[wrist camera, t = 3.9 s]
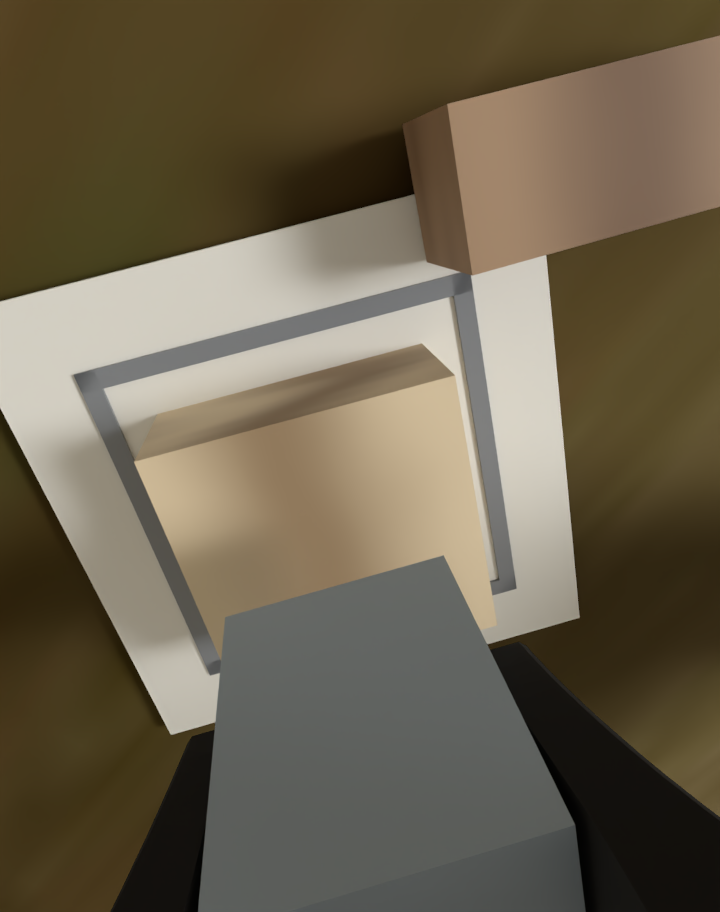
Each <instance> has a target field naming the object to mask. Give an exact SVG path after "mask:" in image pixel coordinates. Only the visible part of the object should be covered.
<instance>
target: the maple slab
mask: <svg viewBox="0 0 720 912" xmlns="http://www.w3.org/2000/svg"><path fill="white" fill-rule="evenodd" d="M134 463H135V466H136V468H137V470H138V472H139V475H140V477H141V479H142V482H143V484H144V486H145V488H146V491H147V493H148V495H149V498H150V500H151V502H152V504H153V507H154V509H155V511H156V514H157V516H158V518H159V520H160V523H161V525H162V527H163V529H164V532H165V534H166V536H167V539H168V541H169V543H170V545H171V548H172V550H173V552H174V555H175V557H176V559H177V561H178V564H179V566H180V568H181V571H182V573H183V575H184V577H185V580H186V582H187V584H188V587H189V589H190V591H191V593H192V596H193V598H194V600H195V603H196V605H197V607H198V609H199V612H200V614H201V616H202V619H203V621H204V623H205V625H206V628H207V630H208V632H209V635H210V637H211V639H212V641H213V644H214V646H215V648H216V651H217V653H218V655H219V657H220V660H221V657H222V646H223V635H224V624H225V617H227V616H231V615H234V614H238V613H242V612H245V611H249V610H252V609H256V608H259V607H263V606H266V605H270V604H273V603H277V602H280V601H284V600H287V599H291V598H294V597H298V596H302V595H305V594H309V593H312V592H316V591H319V590H323V589H326V588H330V587H333V586H337V585H340V584H344V583H347V582H351V581H355V580H358V579H362V578H365V577H369V576H372V575H376V574H379V573H383V572H386V571H390V570H393V569H397V568H400V567H404V566H407V565H411V564H415V563H418V562H422V561H425V560H429V559H432V558H436V557H439V556H443V555H444V557H445V559H446V561H447V563H448V565H449V567H450V569H451V571H452V573H453V576H454V578H455V580H456V582H457V584H458V586H459V588H460V590H461V592H462V594H463V596H464V598H465V600H466V602H467V604H468V606H469V608H470V610H471V612H472V614H473V617H474V619H475V621H476V623H477V625H478V627H479V629H480V630H483V629H486V628H490V627H493V626H497V620H496V614H495V608H494V603H493V597H492V591H491V585H490V579H489V573H488V567H487V561H486V555H485V549H484V543H483V538H482V532H481V526H480V520H479V514H478V508H477V502H476V496H475V490H474V484H473V478H472V472H471V467H470V461H469V455H468V449H467V443H466V437H465V431H464V425H463V419H462V413H461V407H460V402H459V396H458V390H457V384H456V378H455V375H454V374H453V373H452V372H451V371H450V370H449V369H448V368H447V367H446V366H445V365H444V364H443V363H442V362H441V361H440V360H439V359H438V358H437V357H436V356H435V355H433V354H432V353H431V352H430V351H429V350H428V349H427V348H426V347H425V346H424V345H423V344H418V345H414V346H410V347H407V348H403V349H399V350H395V351H392V352H388V353H384V354H380V355H377V356H373V357H369V358H365V359H362V360H358V361H354V362H350V363H347V364H343V365H339V366H336V367H332V368H328V369H324V370H321V371H317V372H313V373H309V374H306V375H302V376H298V377H294V378H291V379H287V380H283V381H279V382H276V383H272V384H268V385H264V386H261V387H257V388H253V389H249V390H246V391H242V392H238V393H234V394H231V395H227V396H223V397H219V398H216V399H212V400H208V401H205V402H201V403H197V404H193V405H190V406H186V407H182V408H178V409H175V410H171V411H167V412H163V413H160V414H157V416H156V418H155V420H154V422H153V424H152V426H151V428H150V430H149V432H148V434H147V436H146V438H145V441H144V443H143V445H142V447H141V449H140V451H139V453H138V455H137V457H136V459H135V461H134Z"/></svg>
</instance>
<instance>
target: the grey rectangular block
mask: <svg viewBox="0 0 720 912" xmlns="http://www.w3.org/2000/svg"><path fill="white" fill-rule="evenodd" d="M198 912H586V911H585V903H584V895H583V886H582V878H581V869H580V861H579V853H578V844H577V836H576V828H575V824H574V822H573V819H572V817H571V815H570V813H569V811H568V809H567V807H566V805H565V803H564V801H563V799H562V797H561V795H560V793H559V791H558V789H557V787H556V785H555V783H554V781H553V778H552V776H551V774H550V772H549V770H548V768H547V766H546V764H545V762H544V760H543V758H542V756H541V754H540V752H539V750H538V748H537V746H536V744H535V742H534V740H533V737H532V735H531V733H530V731H529V729H528V727H527V725H526V723H525V721H524V719H523V717H522V715H521V713H520V711H519V709H518V707H517V705H516V703H515V701H514V699H513V696H512V694H511V692H510V690H509V688H508V686H507V684H506V682H505V680H504V678H503V676H502V674H501V672H500V670H499V668H498V666H497V664H496V662H495V660H494V658H493V655H492V653H491V651H490V649H489V647H488V645H487V643H486V641H485V639H484V637H483V635H482V633H481V631H480V629H479V627H478V625H477V623H476V621H475V619H474V617H473V614H472V612H471V610H470V608H469V606H468V604H467V602H466V600H465V598H464V596H463V594H462V592H461V590H460V588H459V586H458V584H457V582H456V580H455V578H454V576H453V573H452V571H451V569H450V567H449V565H448V563H447V561H446V559H445V557H444V555H443V556H439V557H436V558H432V559H429V560H425V561H422V562H418V563H415V564H411V565H407V566H404V567H400V568H397V569H393V570H390V571H386V572H383V573H379V574H376V575H372V576H369V577H365V578H362V579H358V580H355V581H351V582H347V583H344V584H340V585H337V586H333V587H330V588H326V589H323V590H319V591H316V592H312V593H309V594H305V595H302V596H298V597H294V598H291V599H287V600H284V601H280V602H277V603H273V604H270V605H266V606H263V607H259V608H256V609H252V610H249V611H245V612H242V613H238V614H234V615H231V616H227V617H225V624H224V635H223V646H222V657H221V668H220V678H219V689H218V700H217V711H216V722H215V732H214V743H213V754H212V765H211V776H210V786H209V797H208V808H207V819H206V830H205V840H204V851H203V862H202V873H201V884H200V894H199V905H198Z"/></svg>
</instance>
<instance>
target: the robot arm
mask: <svg viewBox="0 0 720 912" xmlns="http://www.w3.org/2000/svg"><path fill="white" fill-rule="evenodd" d="M490 651H491V653H492V655H493V658H494V660H495V662H496V664H497V666H498V668H499V670H500V672H501V674H502V676H503V678H504V680H505V682H506V684H507V686H508V688H509V690H510V692H511V694H512V696H513V699H514V701H515V703H516V705H517V707H518V709H519V711H520V713H521V715H522V717H523V719H524V721H525V723H526V725H527V727H528V729H529V731H530V733H531V735H532V737H533V740H534V742H535V744H536V746H537V748H538V750H539V752H540V754H541V756H542V758H543V760H544V762H545V764H546V766H547V768H548V770H549V772H550V774H551V776H552V778H553V781H554V783H555V785H556V787H557V789H558V791H559V793H560V795H561V797H562V799H563V801H564V803H565V805H566V807H567V809H568V811H569V813H570V815H571V817H572V819H573V822H574V824H575V828H576V836H577V844H578V853H579V861H580V869H581V878H582V886H583V895H584V903H585V911H586V912H720V817H719V816H718V815H716V814H715V813H714V812H712V811H711V810H710V809H708V808H707V807H706V806H704V805H703V804H702V803H700V802H699V801H698V800H697V799H695V798H694V797H693V796H692V795H690V794H689V793H688V792H686V791H685V790H684V789H683V788H681V787H680V786H679V785H678V784H676V783H675V782H674V781H673V780H671V779H670V778H669V777H668V776H666V775H665V774H664V773H662V772H661V771H660V770H659V769H658V768H656V767H655V766H654V765H653V764H652V763H650V762H649V761H648V760H647V759H646V758H644V757H643V756H642V755H641V754H640V753H638V752H637V751H636V750H635V749H634V748H633V747H632V746H630V745H629V744H628V743H627V742H626V741H625V740H623V739H622V738H621V737H620V736H619V735H618V734H617V733H615V732H614V731H613V730H612V729H611V728H610V727H609V726H607V725H606V724H605V723H604V722H603V721H602V720H601V719H599V718H598V717H597V716H596V715H595V714H594V713H593V712H592V711H591V710H590V709H589V708H587V707H586V706H585V705H584V704H583V703H582V702H581V701H580V700H579V699H578V698H577V697H576V696H575V695H574V694H573V693H572V692H571V691H570V690H568V689H567V688H566V687H565V686H564V685H563V684H562V683H561V682H560V681H559V680H558V679H557V678H556V677H555V676H554V675H553V674H552V673H551V672H550V671H549V670H548V669H547V668H546V667H545V666H544V665H543V663H542V662H541V661H540V660H539V659H538V658H537V657H536V656H535V655H534V654H533V653H532V652H531V651H530V649H529V648H528V647H527V646H526V645H524V644H522V643H520V642H517V643H513V644H510V645H506V646H503V647H499V648H496V649H492V650H490ZM214 732H215V730H213V731H209V732H206V733H202V734H199V735H195V736H192V738H191V739H190V741H189V742H188V744H187V746H186V749H185V751H184V753H183V755H182V758H181V760H180V762H179V765H178V767H177V769H176V772H175V774H174V776H173V779H172V781H171V783H170V786H169V788H168V790H167V792H166V795H165V797H164V799H163V801H162V804H161V806H160V808H159V810H158V813H157V815H156V817H155V819H154V821H153V824H152V826H151V828H150V830H149V833H148V835H147V837H146V839H145V841H144V843H143V845H142V847H141V850H140V852H139V854H138V856H137V858H136V860H135V862H134V864H133V866H132V868H131V870H130V873H129V875H128V877H127V879H126V881H125V883H124V885H123V887H122V889H121V891H120V894H119V896H118V898H117V900H116V902H115V904H114V906H113V908H112V910H111V912H198V905H199V894H200V884H201V873H202V862H203V851H204V840H205V830H206V819H207V808H208V797H209V786H210V776H211V765H212V754H213V743H214Z"/></svg>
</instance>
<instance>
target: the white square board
mask: <svg viewBox="0 0 720 912" xmlns="http://www.w3.org/2000/svg"><path fill="white" fill-rule="evenodd" d="M418 344H423V345H424V346H425V347H426V348H427V349H428V350H429V351H430V352H431V353H432V354H433V355H435V356H436V357H437V358H438V359H439V360H440V361H441V362H442V363H443V364H444V365H445V366H446V367H447V368H448V369H449V370H450V371H451V372H452V373H453V374H454V375H455V378H456V384H457V390H458V396H459V402H460V407H461V413H462V419H463V425H464V431H465V437H466V443H467V449H468V455H469V461H470V467H471V472H472V478H473V484H474V490H475V496H476V502H477V508H478V514H479V520H480V526H481V532H482V538H483V543H484V549H485V555H486V561H487V567H488V573H489V579H490V585H491V591H492V597H493V603H494V608H495V614H496V620H497V626H493V627H490V628H486V629H483V630H480V631H481V633H482V635H483V637H484V639H485V641H486V643H487V644H490V643H493V642H497V641H500V640H504V639H507V638H511V637H514V636H518V635H521V634H525V633H528V632H532V631H535V630H539V629H542V628H546V627H549V626H553V625H556V624H560V623H563V622H567V621H570V620H574V619H577V618H580V616H579V605H578V594H577V583H576V572H575V562H574V551H573V540H572V529H571V519H570V508H569V497H568V486H567V475H566V465H565V454H564V443H563V432H562V421H561V411H560V400H559V389H558V378H557V368H556V357H555V346H554V335H553V324H552V314H551V303H550V292H549V281H548V270H547V260H546V255H544V256H541V257H537V258H534V259H530V260H526V261H523V262H519V263H516V264H512V265H508V266H505V267H501V268H498V269H494V270H491V271H487V272H483V273H480V274H476V275H473V276H472V275H469V274H465V273H462V272H459V271H455V270H452V269H448V268H445V267H441V266H438V265H435V264H431V263H428V262H427V261H426V255H425V250H424V244H423V239H422V233H421V227H420V222H419V216H418V210H417V205H416V199H415V194H413V195H409V196H406V197H402V198H398V199H394V200H390V201H386V202H382V203H378V204H375V205H371V206H367V207H363V208H359V209H355V210H351V211H347V212H344V213H340V214H336V215H332V216H328V217H324V218H320V219H316V220H313V221H309V222H305V223H301V224H297V225H293V226H289V227H285V228H282V229H278V230H274V231H270V232H266V233H262V234H258V235H254V236H251V237H247V238H243V239H239V240H235V241H231V242H227V243H223V244H220V245H216V246H212V247H208V248H204V249H200V250H196V251H192V252H189V253H185V254H181V255H177V256H173V257H169V258H165V259H161V260H157V261H154V262H150V263H146V264H142V265H138V266H134V267H130V268H126V269H123V270H119V271H115V272H111V273H107V274H103V275H99V276H95V277H92V278H88V279H84V280H80V281H76V282H72V283H68V284H64V285H61V286H57V287H53V288H49V289H45V290H41V291H37V292H33V293H30V294H26V295H22V296H18V297H14V298H10V299H6V300H2V301H0V409H1V411H2V412H3V414H4V416H5V418H6V420H7V422H8V424H9V426H10V428H11V430H12V432H13V434H14V435H15V437H16V439H17V441H18V443H19V445H20V447H21V449H22V451H23V453H24V455H25V456H26V458H27V460H28V462H29V464H30V466H31V468H32V470H33V472H34V474H35V476H36V478H37V479H38V481H39V483H40V485H41V487H42V489H43V491H44V493H45V495H46V497H47V499H48V501H49V502H50V504H51V506H52V508H53V510H54V512H55V514H56V516H57V518H58V520H59V522H60V524H61V525H62V527H63V529H64V531H65V533H66V535H67V537H68V539H69V541H70V543H71V545H72V546H73V548H74V550H75V552H76V554H77V556H78V558H79V560H80V562H81V564H82V566H83V568H84V569H85V571H86V573H87V575H88V577H89V579H90V581H91V583H92V585H93V587H94V589H95V591H96V592H97V594H98V596H99V598H100V600H101V602H102V604H103V606H104V608H105V610H106V612H107V613H108V615H109V617H110V619H111V621H112V623H113V625H114V627H115V629H116V631H117V633H118V635H119V636H120V638H121V640H122V642H123V644H124V646H125V648H126V650H127V652H128V654H129V656H130V658H131V659H132V661H133V663H134V665H135V667H136V669H137V671H138V673H139V675H140V677H141V679H142V681H143V682H144V684H145V686H146V688H147V690H148V692H149V694H150V696H151V698H152V700H153V702H154V703H155V705H156V707H157V709H158V711H159V713H160V715H161V717H162V719H163V721H164V723H165V725H166V726H167V728H168V730H169V732H170V734H171V735H172V734H176V733H179V732H183V731H186V730H190V729H193V728H197V727H200V726H204V725H207V724H211V723H214V722H216V711H217V700H218V689H219V678H220V668H221V660H220V657H219V655H218V653H217V651H216V648H215V646H214V644H213V641H212V639H211V637H210V635H209V632H208V630H207V628H206V625H205V623H204V621H203V619H202V616H201V614H200V612H199V609H198V607H197V605H196V603H195V600H194V598H193V596H192V593H191V591H190V589H189V587H188V584H187V582H186V580H185V577H184V575H183V573H182V571H181V568H180V566H179V564H178V561H177V559H176V557H175V555H174V552H173V550H172V548H171V545H170V543H169V541H168V539H167V536H166V534H165V532H164V529H163V527H162V525H161V523H160V520H159V518H158V516H157V514H156V511H155V509H154V507H153V504H152V502H151V500H150V498H149V495H148V493H147V491H146V488H145V486H144V484H143V482H142V479H141V477H140V475H139V472H138V470H137V468H136V466H135V463H134V461H135V459H136V457H137V455H138V453H139V451H140V449H141V447H142V445H143V443H144V441H145V438H146V436H147V434H148V432H149V430H150V428H151V426H152V424H153V422H154V420H155V418H156V416H157V414H160V413H163V412H167V411H171V410H175V409H178V408H182V407H186V406H190V405H193V404H197V403H201V402H205V401H208V400H212V399H216V398H219V397H223V396H227V395H231V394H234V393H238V392H242V391H246V390H249V389H253V388H257V387H261V386H264V385H268V384H272V383H276V382H279V381H283V380H287V379H291V378H294V377H298V376H302V375H306V374H309V373H313V372H317V371H321V370H324V369H328V368H332V367H336V366H339V365H343V364H347V363H350V362H354V361H358V360H362V359H365V358H369V357H373V356H377V355H380V354H384V353H388V352H392V351H395V350H399V349H403V348H407V347H410V346H414V345H418Z"/></svg>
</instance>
